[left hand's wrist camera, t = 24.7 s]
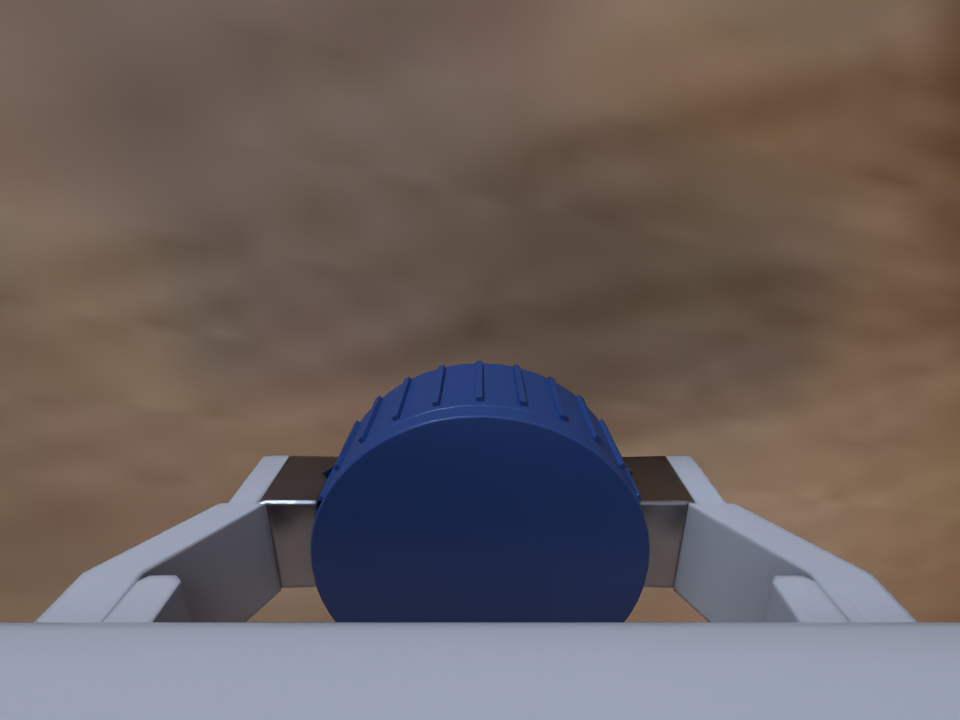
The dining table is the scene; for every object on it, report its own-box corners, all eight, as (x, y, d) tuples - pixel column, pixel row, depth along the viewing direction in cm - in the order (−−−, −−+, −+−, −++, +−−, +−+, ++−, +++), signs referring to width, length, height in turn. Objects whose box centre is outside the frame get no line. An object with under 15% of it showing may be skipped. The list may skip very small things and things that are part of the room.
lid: (624, 584, 11) (656, 674, 9) (369, 608, 11) (346, 702, 9) (616, 342, 9) (655, 390, 7) (308, 377, 9) (262, 435, 7)
